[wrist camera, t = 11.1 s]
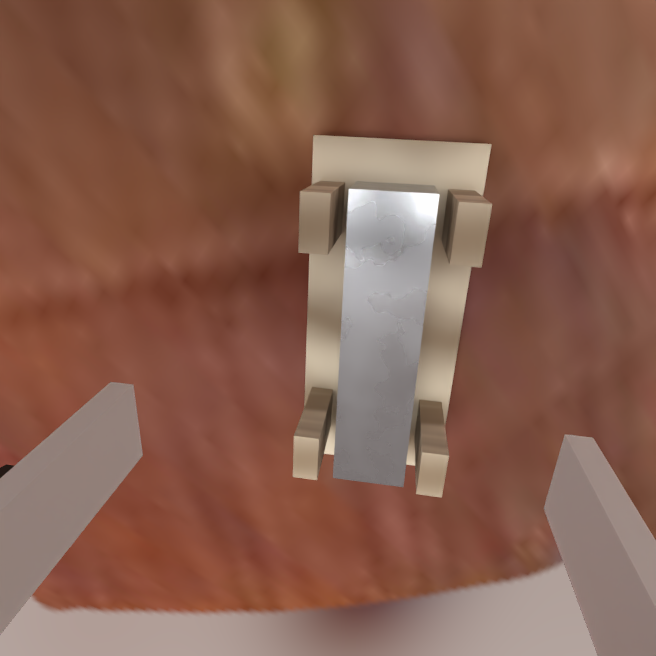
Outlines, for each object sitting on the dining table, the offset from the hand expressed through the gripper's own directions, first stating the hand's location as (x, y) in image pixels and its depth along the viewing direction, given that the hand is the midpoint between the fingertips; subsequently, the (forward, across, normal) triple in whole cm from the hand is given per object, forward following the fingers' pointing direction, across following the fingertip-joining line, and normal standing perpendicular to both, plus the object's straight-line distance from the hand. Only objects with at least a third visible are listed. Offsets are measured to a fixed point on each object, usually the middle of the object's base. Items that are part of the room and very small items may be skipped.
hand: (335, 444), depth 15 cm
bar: (+17, +1, -3) cm, 17 cm away
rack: (+19, +1, -3) cm, 19 cm away
